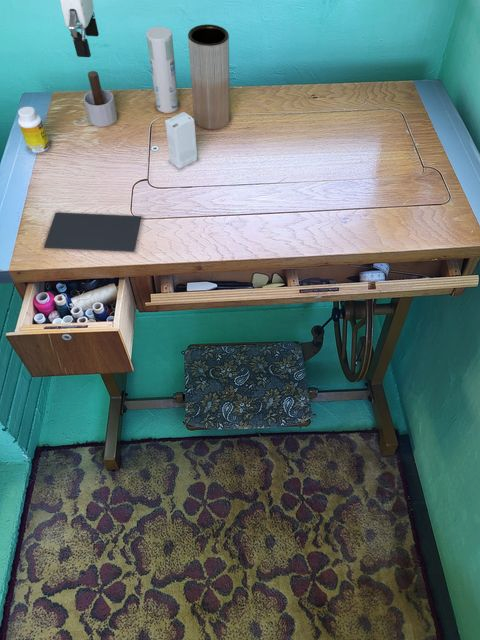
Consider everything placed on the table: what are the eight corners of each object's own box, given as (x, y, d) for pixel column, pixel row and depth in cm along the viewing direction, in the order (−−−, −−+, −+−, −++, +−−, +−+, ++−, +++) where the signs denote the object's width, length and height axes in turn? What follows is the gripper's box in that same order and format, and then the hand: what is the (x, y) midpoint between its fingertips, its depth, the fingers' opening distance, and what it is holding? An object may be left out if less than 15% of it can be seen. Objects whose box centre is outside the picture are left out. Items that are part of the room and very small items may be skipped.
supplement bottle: (50, 153, 136) (37, 116, 127) (27, 154, 135) (13, 118, 126) (50, 139, 139) (38, 103, 130) (28, 141, 138) (15, 105, 129)
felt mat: (44, 248, 118) (43, 246, 117) (56, 214, 124) (55, 212, 123) (133, 251, 118) (133, 250, 118) (140, 217, 124) (140, 216, 124)
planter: (237, 121, 147) (237, 36, 128) (209, 134, 143) (205, 49, 124) (214, 104, 151) (211, 19, 132) (186, 117, 147) (179, 32, 128)
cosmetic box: (187, 152, 138) (183, 109, 128) (198, 160, 137) (195, 118, 126) (169, 161, 136) (163, 119, 126) (179, 170, 134) (175, 128, 124)
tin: (86, 125, 143) (80, 105, 138) (91, 109, 147) (86, 88, 142) (114, 127, 143) (110, 106, 138) (119, 110, 147) (115, 90, 142)
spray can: (177, 113, 147) (170, 39, 131) (154, 112, 147) (144, 38, 131) (180, 100, 151) (173, 26, 134) (157, 99, 151) (147, 25, 134)
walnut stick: (97, 119, 144) (86, 76, 134) (98, 113, 145) (88, 70, 135) (106, 119, 144) (96, 76, 134) (108, 114, 145) (98, 71, 135)
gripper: (61, -53, 119) (80, 27, 133) (41, -18, 109) (65, 64, 124) (94, -51, 119) (110, 28, 133) (78, -16, 109) (97, 65, 124)
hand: (88, 45), depth 128 cm, fingers open, 9 cm apart
